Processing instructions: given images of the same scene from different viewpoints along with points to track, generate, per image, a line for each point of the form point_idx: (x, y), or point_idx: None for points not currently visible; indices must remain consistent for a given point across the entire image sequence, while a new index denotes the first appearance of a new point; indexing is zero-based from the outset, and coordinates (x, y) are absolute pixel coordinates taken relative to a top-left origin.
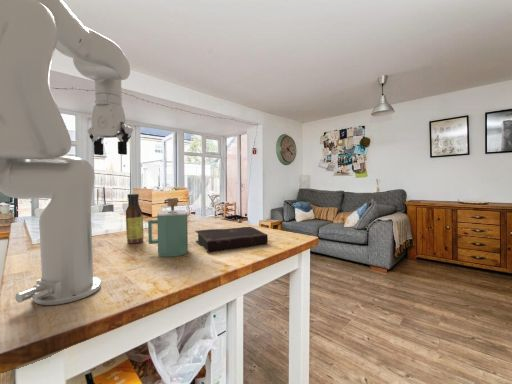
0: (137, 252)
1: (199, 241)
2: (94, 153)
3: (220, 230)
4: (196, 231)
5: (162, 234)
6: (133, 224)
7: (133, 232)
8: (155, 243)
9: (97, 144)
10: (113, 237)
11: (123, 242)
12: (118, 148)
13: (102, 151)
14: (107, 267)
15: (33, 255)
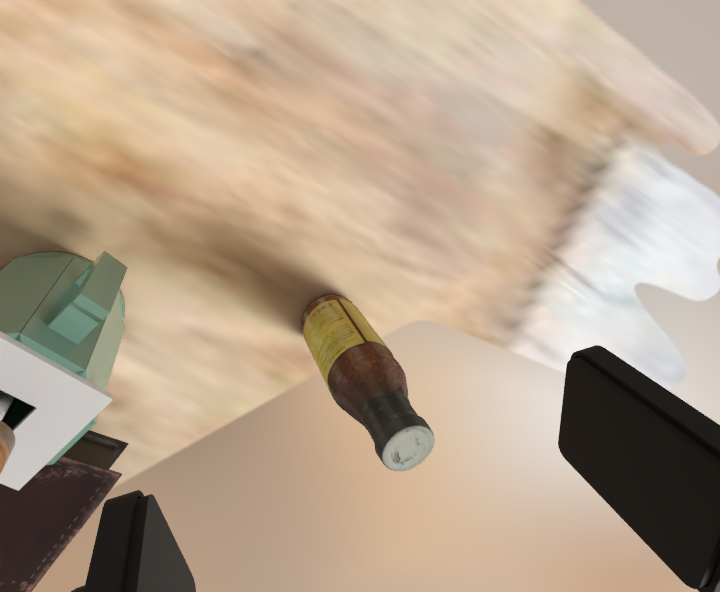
0: (196, 240)
1: (92, 443)
2: (593, 348)
3: (35, 540)
4: (107, 473)
5: (12, 289)
6: (329, 339)
7: (321, 321)
8: (85, 270)
9: (700, 490)
10: (456, 315)
11: (366, 294)
12: (108, 575)
13: (590, 472)
14: (114, 58)
15: (509, 37)
